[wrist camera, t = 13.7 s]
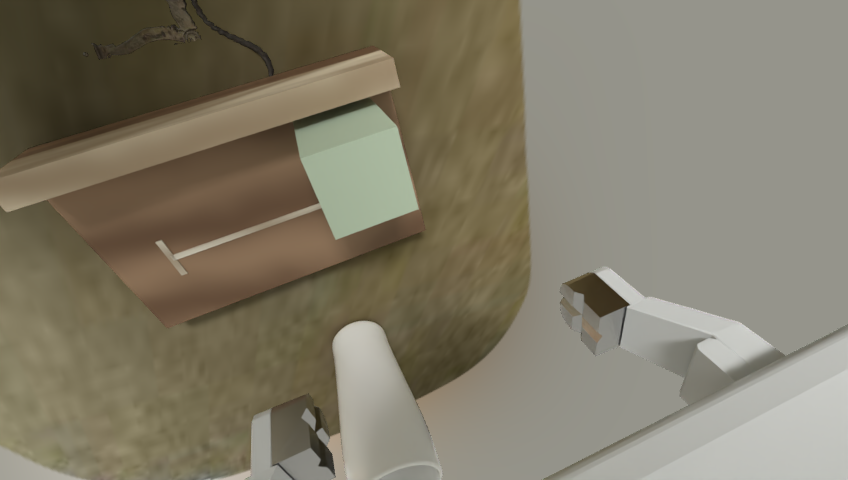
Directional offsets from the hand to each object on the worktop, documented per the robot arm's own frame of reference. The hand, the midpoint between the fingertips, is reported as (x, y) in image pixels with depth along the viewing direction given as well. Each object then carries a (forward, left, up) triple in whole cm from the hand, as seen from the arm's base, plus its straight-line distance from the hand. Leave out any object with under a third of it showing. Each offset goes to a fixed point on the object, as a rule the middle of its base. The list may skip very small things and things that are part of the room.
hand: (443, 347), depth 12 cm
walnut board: (+2, -6, -20) cm, 22 cm away
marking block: (0, 0, -18) cm, 18 cm away
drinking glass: (+20, -5, -21) cm, 29 cm away
